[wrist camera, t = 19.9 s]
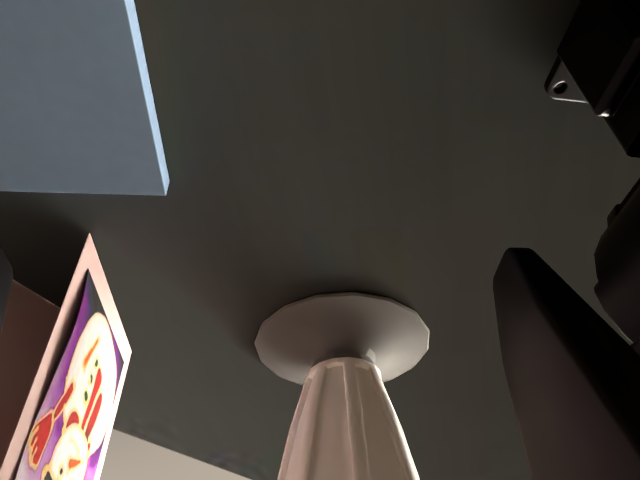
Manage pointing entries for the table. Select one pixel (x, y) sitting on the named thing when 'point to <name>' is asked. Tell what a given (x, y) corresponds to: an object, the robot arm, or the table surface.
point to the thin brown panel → (60, 377)
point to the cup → (344, 383)
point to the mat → (77, 100)
